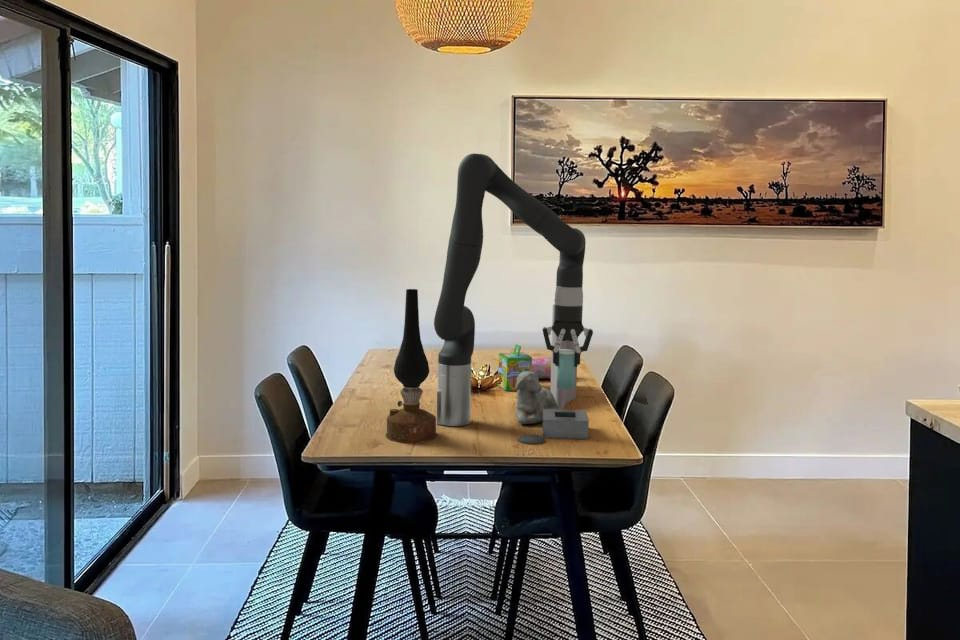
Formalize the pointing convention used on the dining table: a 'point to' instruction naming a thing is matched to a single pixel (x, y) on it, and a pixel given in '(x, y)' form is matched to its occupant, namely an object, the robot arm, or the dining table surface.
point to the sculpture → (532, 398)
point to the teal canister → (566, 368)
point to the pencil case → (542, 367)
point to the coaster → (531, 439)
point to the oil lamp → (411, 383)
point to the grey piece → (559, 394)
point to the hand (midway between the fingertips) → (566, 365)
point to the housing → (565, 424)
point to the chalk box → (512, 367)
